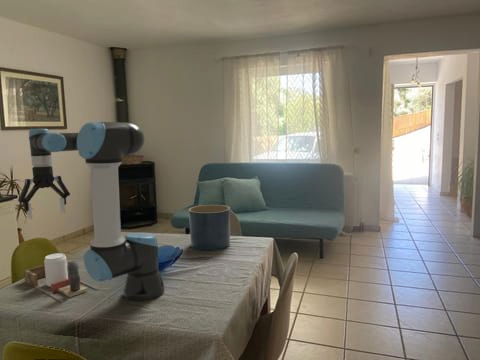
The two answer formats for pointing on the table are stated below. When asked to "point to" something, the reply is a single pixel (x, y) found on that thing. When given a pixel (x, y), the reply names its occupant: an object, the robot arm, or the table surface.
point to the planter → (209, 227)
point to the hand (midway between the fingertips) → (46, 215)
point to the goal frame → (36, 274)
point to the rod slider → (70, 282)
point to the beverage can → (55, 268)
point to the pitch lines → (59, 298)
